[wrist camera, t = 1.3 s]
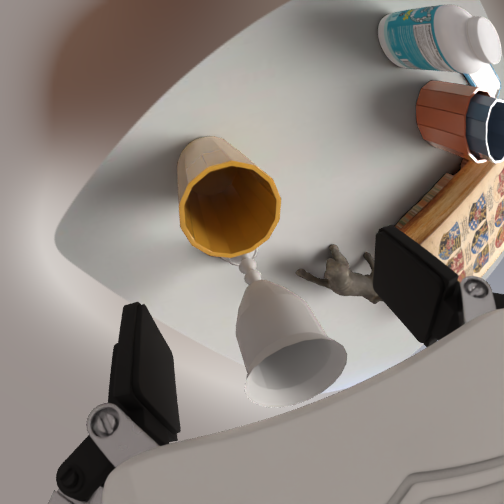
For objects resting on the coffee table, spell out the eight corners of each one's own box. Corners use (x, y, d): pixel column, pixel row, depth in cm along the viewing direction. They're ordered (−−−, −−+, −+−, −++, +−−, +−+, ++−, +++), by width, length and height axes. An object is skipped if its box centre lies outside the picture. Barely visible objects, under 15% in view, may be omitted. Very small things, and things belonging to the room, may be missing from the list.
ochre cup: (169, 146, 25) (165, 179, 15) (233, 129, 25) (273, 151, 15) (185, 203, 28) (194, 269, 18) (245, 186, 29) (287, 241, 19)
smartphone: (460, 18, 21) (501, 84, 27) (454, 18, 22) (497, 83, 28) (448, 48, 24) (491, 114, 30) (442, 48, 25) (486, 113, 31)
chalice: (194, 228, 30) (225, 371, 15) (255, 201, 30) (341, 319, 15) (222, 279, 34) (265, 417, 19) (275, 255, 34) (350, 378, 19)
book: (415, 313, 50) (497, 226, 45) (433, 334, 44) (517, 240, 40) (378, 232, 37) (484, 129, 32) (407, 256, 31) (513, 139, 27)
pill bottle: (409, 13, 21) (496, 7, 10) (425, 65, 25) (512, 76, 14) (365, 15, 21) (459, -2, 10) (385, 72, 25) (481, 81, 14)
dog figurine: (376, 255, 38) (408, 285, 32) (355, 288, 40) (383, 321, 34) (312, 229, 33) (344, 262, 27) (290, 270, 35) (314, 308, 29)
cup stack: (413, 78, 26) (481, 88, 17) (455, 83, 27) (514, 95, 18) (417, 148, 31) (479, 174, 22) (456, 143, 32) (512, 166, 23)
